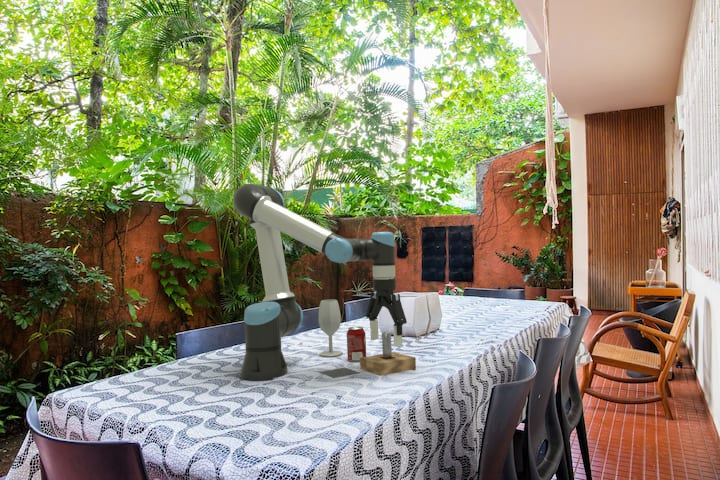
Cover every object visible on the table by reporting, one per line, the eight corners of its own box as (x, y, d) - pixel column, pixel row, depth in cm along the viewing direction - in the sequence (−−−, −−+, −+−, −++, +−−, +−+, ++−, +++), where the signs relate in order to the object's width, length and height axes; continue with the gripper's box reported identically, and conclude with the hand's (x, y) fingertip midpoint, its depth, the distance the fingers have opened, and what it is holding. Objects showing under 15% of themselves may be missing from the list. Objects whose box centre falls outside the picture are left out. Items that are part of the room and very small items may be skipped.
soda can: (364, 363, 177) (363, 329, 178) (345, 363, 179) (344, 329, 179) (368, 359, 184) (366, 326, 184) (350, 359, 185) (348, 326, 185)
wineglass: (332, 358, 188) (330, 302, 188) (315, 356, 193) (312, 301, 193) (346, 353, 195) (344, 299, 195) (329, 351, 200) (327, 299, 200)
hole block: (380, 376, 158) (380, 364, 158) (360, 369, 168) (360, 357, 168) (415, 369, 165) (415, 357, 165) (394, 363, 175) (394, 351, 175)
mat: (333, 379, 157) (333, 378, 157) (318, 373, 165) (318, 372, 165) (360, 374, 162) (360, 372, 162) (345, 368, 171) (345, 367, 171)
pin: (386, 371, 164) (385, 334, 165) (381, 369, 167) (380, 333, 167) (394, 370, 166) (392, 333, 166) (389, 368, 168) (387, 332, 169)
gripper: (416, 279, 158) (418, 346, 158) (373, 276, 180) (374, 335, 179) (397, 280, 155) (399, 349, 154) (355, 277, 176) (356, 338, 175)
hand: (385, 342), depth 167 cm, fingers open, 13 cm apart
